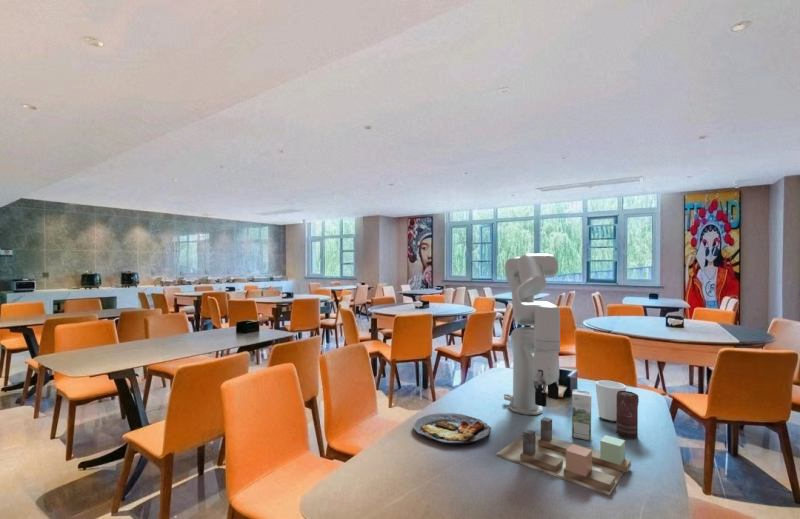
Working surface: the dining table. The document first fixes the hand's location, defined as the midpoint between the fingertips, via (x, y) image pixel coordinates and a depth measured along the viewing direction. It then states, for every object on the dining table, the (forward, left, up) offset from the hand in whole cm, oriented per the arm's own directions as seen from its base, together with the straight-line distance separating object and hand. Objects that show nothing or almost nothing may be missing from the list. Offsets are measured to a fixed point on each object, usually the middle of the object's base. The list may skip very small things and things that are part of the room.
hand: (547, 401), depth 123 cm
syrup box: (+5, +16, -14) cm, 22 cm away
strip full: (+10, +1, -13) cm, 17 cm away
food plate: (-28, -10, -14) cm, 33 cm away
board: (+6, -5, -14) cm, 16 cm away
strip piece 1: (+3, -12, -13) cm, 18 cm away
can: (+16, +27, -14) cm, 35 cm away
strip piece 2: (+16, -12, -14) cm, 24 cm away
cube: (+18, +1, -12) cm, 22 cm away
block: (+13, -12, -12) cm, 21 cm away
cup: (+8, +39, -14) cm, 42 cm away
